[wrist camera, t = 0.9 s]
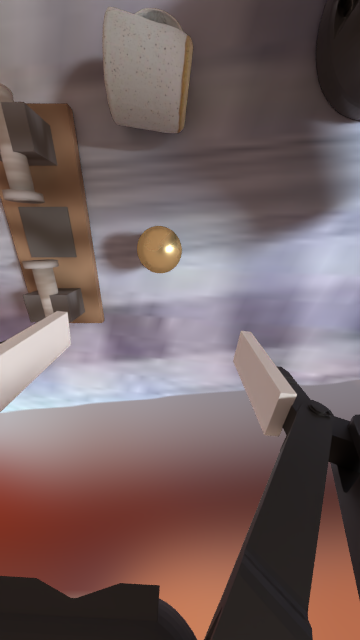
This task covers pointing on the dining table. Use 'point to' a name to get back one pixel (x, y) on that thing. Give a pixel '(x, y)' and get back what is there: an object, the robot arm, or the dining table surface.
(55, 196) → the shaft bench
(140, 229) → the dining table surface
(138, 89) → the ceramic mug
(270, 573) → the robot arm
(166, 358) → the dining table surface
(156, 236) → the knob
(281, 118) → the dining table surface
